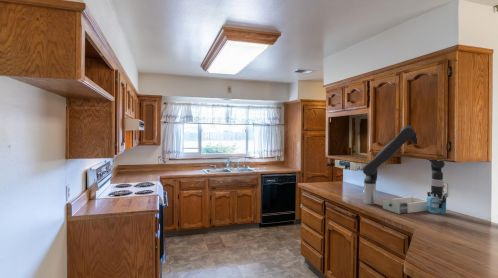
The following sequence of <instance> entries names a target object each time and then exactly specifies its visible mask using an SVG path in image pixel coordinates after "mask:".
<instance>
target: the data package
mask: <svg viewBox="0 0 498 278" xmlns="http://www.w3.org/2000/svg"><path fill="white" fill-rule="evenodd" d="M440 199H441V198H440ZM426 201H427V210H426V211H427V212H428V213H431V214H445V213H446V212H447V202H446V203H443V204H442V208H441V209H440V208H439V201H438V199H437V197H433V196H432V195H431V196H428V195H427V197H426ZM440 201H441V200H440Z"/></svg>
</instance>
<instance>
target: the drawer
mask: <svg viewBox="0 0 498 278" xmlns="http://www.w3.org/2000/svg"><path fill="white" fill-rule="evenodd" d="M382 209H384V210H386V211H389V212H392V213H395V214H398V215H400V214H402V213H407V203H399V204H398V203H394V202H392V200H391V201H390V200H387V199H383V200H382Z"/></svg>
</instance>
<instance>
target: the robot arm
mask: <svg viewBox="0 0 498 278" xmlns="http://www.w3.org/2000/svg"><path fill="white" fill-rule="evenodd" d="M415 132H416V131H415V129H414V127H412V126H411V125H403V127H401V129H400V132H399V133H398V135H396V137H395V138H394V139H392V140H391V141H389V143H387V144H386V145H385V146H383V147H382V148H381V150H379V152H378V153H377V154H376V155H375V156H374V157H373V158H372V159H371V160H369V162H368V163H366V164H365V165H364V166H363V168H362V172H363V174H364V175H365V178H364V180H363V191H362V203H363V204H364V205H365V204H366V205H371V206H373V205H376V198H377V196H376V194H377V192H376V191H377V180H378V168H379V167H380V166H381V165H382V164H384V163H386V162H387V161H389V160H390V159H391V158H392V157H393V156H394V155H395V154H396V153H397V152H398V151H399V150H400V148H401V147H403V145H404V144H406V143H407V142H408V141H410V142H411V143H412V144H413V143H414V144H417V138H416V134H417V132H416V133H415ZM414 144H413V145H414ZM427 160H428V161H429V162H430V167H431V183H430V191H427V192H426V193H427V194H426V196H427V197H428V196H433V197H437V199H438V201H439V208H440V209H441V208H442V204H443V203H446V204H447V195H446V194H445V195H444V194H443V192H444V180H443V179H444V173H443V171H442V169H443V168H445V165H446V164H445V161H444V160H443V161H437V160H429V159H427ZM440 198H441V199H440ZM440 200H441V201H440Z"/></svg>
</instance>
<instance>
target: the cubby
mask: <svg viewBox="0 0 498 278" xmlns="http://www.w3.org/2000/svg"><path fill="white" fill-rule="evenodd" d="M391 202H394V203H398V204H399V203H407V212H406V213H408V214H411V213H417V212H425V211H427V199H421V198H418V197H414V196H406V197H400V198H399V197H398V198H392V199H391Z"/></svg>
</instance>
